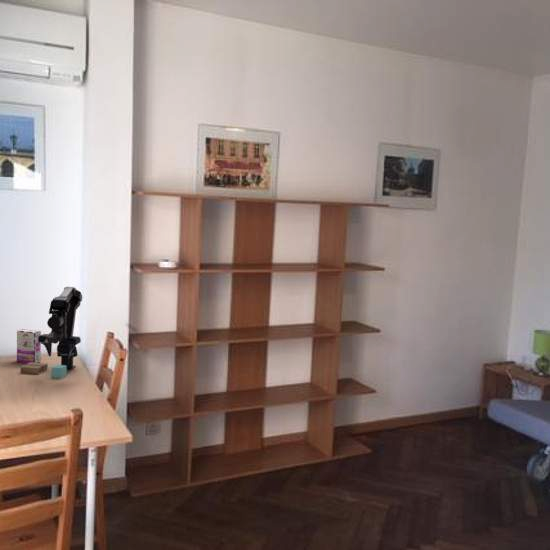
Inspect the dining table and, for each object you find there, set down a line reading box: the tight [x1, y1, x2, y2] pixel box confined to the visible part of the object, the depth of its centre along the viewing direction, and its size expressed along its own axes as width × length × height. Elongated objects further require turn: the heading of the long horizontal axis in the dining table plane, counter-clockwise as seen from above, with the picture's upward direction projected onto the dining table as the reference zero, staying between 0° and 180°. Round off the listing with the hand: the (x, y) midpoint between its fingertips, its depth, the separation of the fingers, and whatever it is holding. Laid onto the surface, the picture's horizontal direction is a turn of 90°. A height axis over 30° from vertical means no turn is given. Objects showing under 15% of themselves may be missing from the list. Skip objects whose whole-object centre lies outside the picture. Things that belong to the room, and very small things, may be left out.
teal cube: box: [50, 364, 67, 379], centre depth 286 cm, size 5×5×5 cm
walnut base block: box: [20, 362, 49, 375], centre depth 293 cm, size 9×9×3 cm
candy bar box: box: [16, 328, 42, 364], centre depth 308 cm, size 11×5×16 cm, turn 73°
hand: (59, 357), depth 285 cm, fingers open, 9 cm apart
